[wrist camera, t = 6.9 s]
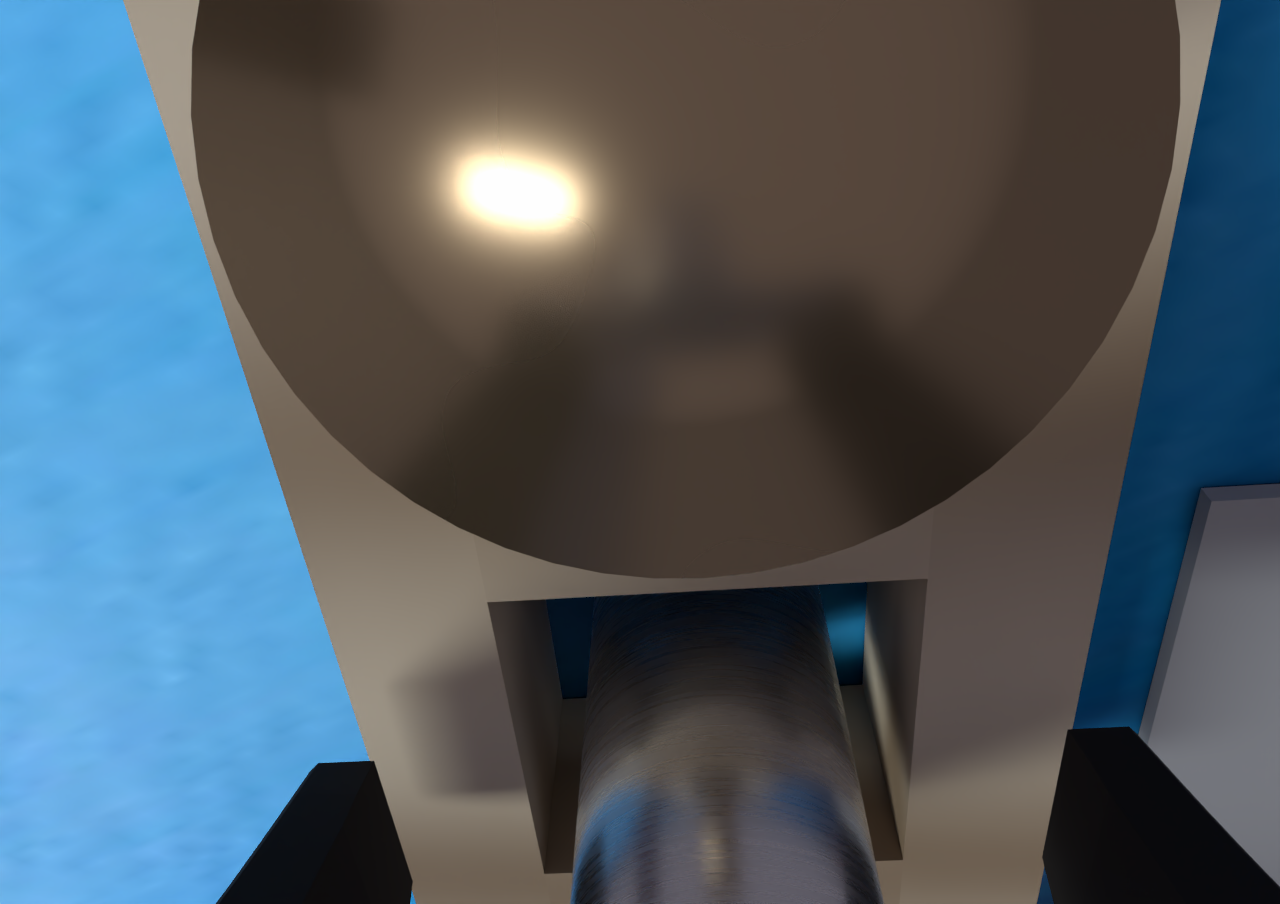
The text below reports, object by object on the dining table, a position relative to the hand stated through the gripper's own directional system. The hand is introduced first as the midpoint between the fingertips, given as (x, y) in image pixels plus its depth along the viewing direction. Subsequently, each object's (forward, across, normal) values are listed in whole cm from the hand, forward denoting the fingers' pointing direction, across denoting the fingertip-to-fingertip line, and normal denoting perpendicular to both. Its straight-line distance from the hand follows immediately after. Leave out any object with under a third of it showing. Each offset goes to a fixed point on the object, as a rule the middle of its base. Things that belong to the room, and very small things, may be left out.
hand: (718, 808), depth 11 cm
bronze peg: (+4, 0, -8) cm, 9 cm away
